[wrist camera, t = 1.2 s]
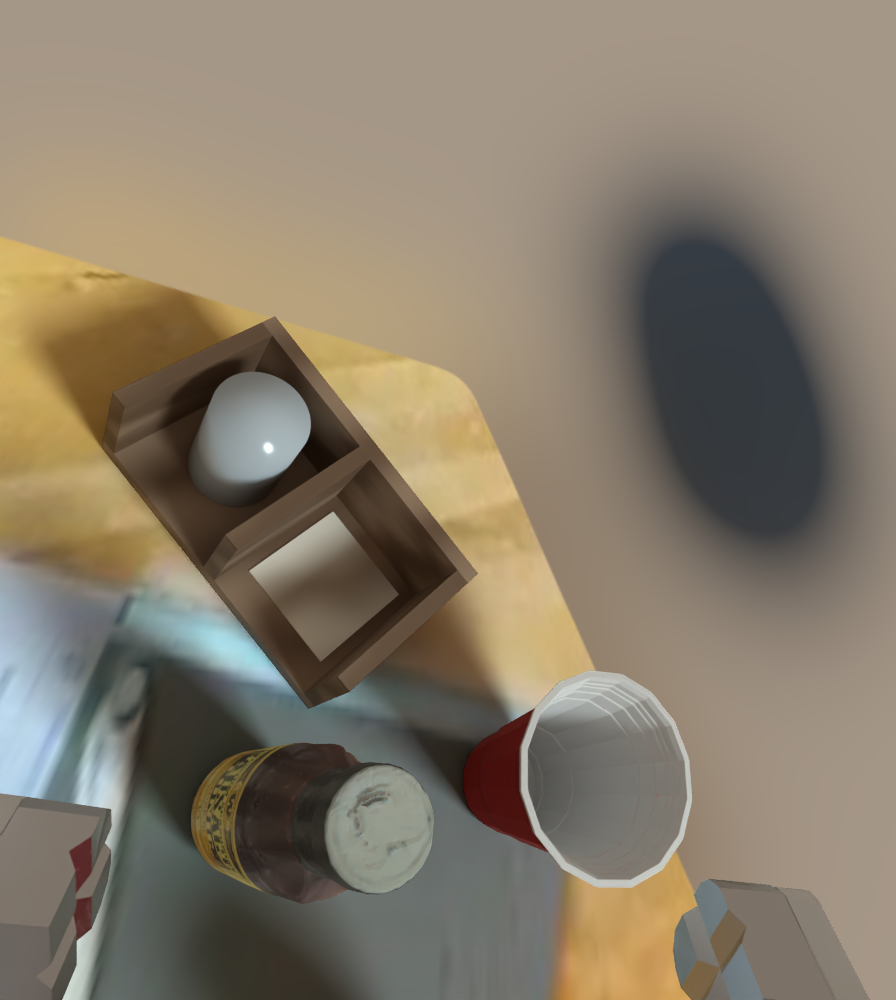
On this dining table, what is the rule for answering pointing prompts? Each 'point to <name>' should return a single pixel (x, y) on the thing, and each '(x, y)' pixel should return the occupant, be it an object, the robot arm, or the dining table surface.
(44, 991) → the robot arm
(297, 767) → the sauce bottle
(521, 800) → the plastic cup
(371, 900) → the dining table surface
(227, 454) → the grey rounded cylinder
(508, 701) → the dining table surface
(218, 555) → the walnut rail
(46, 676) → the dining table surface
